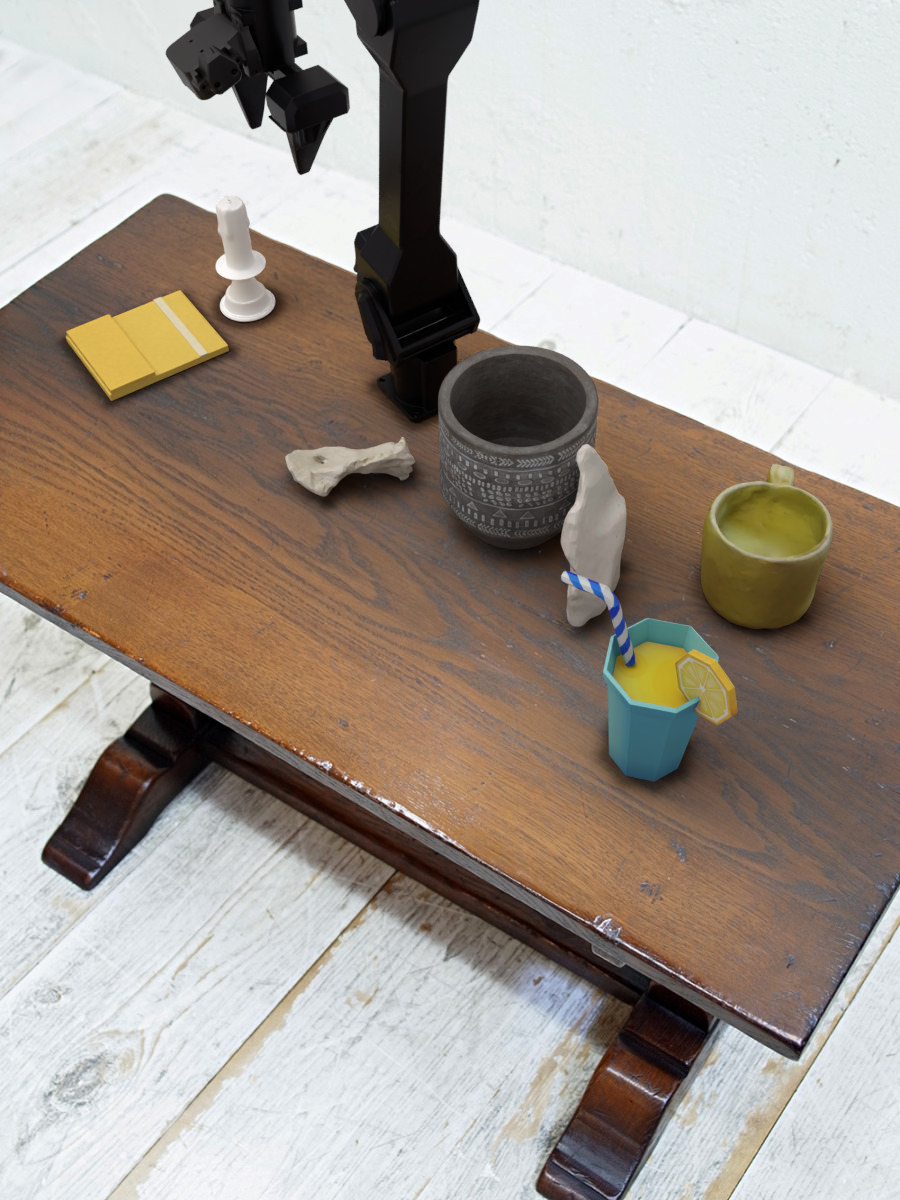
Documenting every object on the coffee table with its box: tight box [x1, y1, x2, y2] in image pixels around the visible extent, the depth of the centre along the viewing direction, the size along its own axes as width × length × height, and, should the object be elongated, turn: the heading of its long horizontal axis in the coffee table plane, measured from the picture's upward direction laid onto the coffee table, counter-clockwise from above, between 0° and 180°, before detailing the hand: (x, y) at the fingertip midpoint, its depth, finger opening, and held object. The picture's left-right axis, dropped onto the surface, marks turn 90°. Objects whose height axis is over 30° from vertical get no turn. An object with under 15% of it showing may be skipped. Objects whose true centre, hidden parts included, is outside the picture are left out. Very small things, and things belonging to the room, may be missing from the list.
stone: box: [560, 444, 628, 627], centre depth 96 cm, size 11×4×15 cm, turn 167°
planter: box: [437, 344, 599, 550], centre depth 102 cm, size 12×12×13 cm
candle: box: [215, 195, 276, 323], centre depth 120 cm, size 5×5×12 cm
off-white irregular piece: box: [284, 436, 416, 497], centre depth 108 cm, size 6×10×4 cm, turn 104°
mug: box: [700, 463, 834, 630], centre depth 99 cm, size 12×10×10 cm
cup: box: [560, 570, 739, 782], centre depth 87 cm, size 14×8×15 cm, turn 53°
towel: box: [65, 289, 230, 402], centre depth 120 cm, size 10×12×1 cm
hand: (279, 149), depth 120 cm, fingers open, 9 cm apart
